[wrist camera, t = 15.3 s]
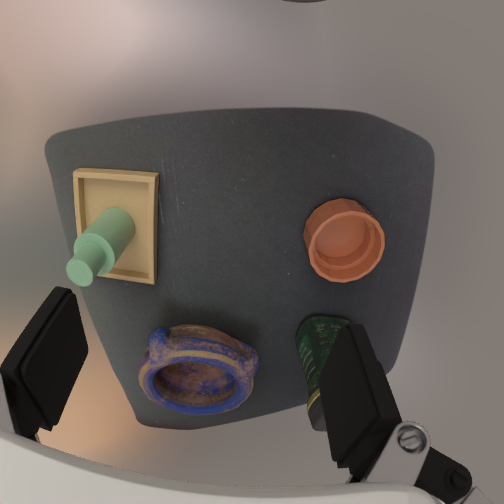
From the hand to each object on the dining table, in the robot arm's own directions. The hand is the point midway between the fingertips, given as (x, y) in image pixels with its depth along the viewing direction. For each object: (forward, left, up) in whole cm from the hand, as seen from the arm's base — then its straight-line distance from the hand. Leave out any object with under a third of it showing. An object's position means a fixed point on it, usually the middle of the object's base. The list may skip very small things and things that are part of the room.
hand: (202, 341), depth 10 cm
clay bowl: (+8, +15, -30) cm, 35 cm away
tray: (+11, -15, -30) cm, 36 cm away
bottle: (+11, -15, -30) cm, 35 cm away
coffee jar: (+26, +18, -31) cm, 44 cm away
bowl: (+32, -2, -31) cm, 44 cm away
